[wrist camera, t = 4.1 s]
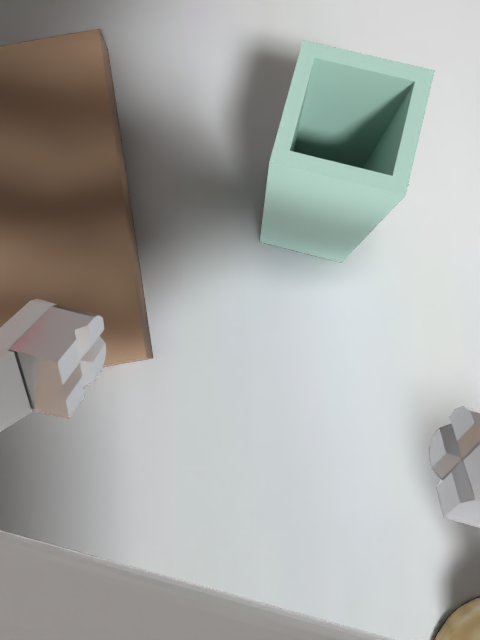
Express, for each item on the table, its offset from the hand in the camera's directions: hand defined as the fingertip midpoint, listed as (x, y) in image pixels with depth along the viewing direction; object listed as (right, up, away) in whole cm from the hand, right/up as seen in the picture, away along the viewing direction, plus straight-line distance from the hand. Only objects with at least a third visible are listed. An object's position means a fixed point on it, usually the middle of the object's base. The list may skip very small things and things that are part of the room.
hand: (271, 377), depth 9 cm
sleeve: (+4, +8, +14) cm, 16 cm away
